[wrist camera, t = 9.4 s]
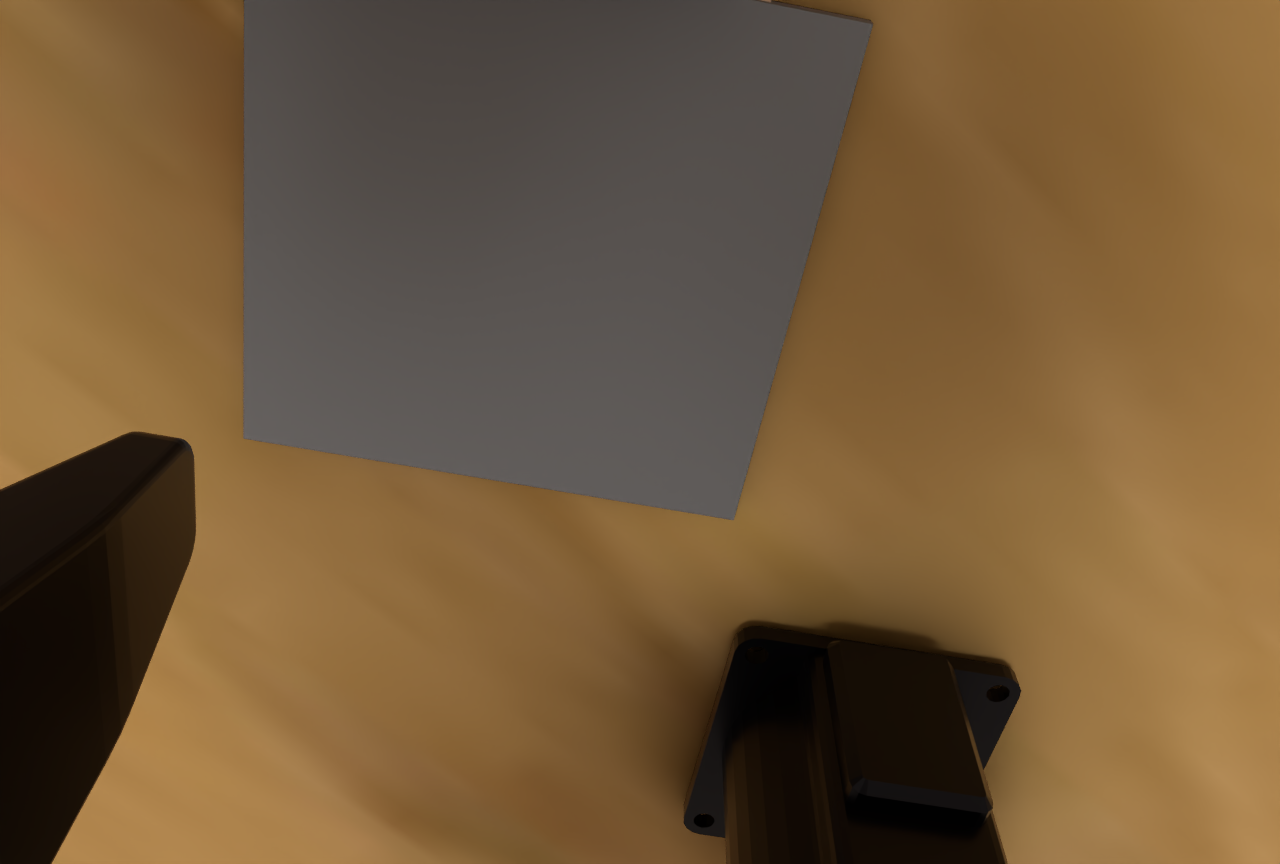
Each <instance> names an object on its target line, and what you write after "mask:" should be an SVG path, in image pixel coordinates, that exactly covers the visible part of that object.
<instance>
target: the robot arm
mask: <svg viewBox="0 0 1280 864" xmlns="http://www.w3.org/2000/svg"><path fill="white" fill-rule="evenodd" d="M195 535H196V510H195V473H194V455H193V452H192V449H191V446H190V445H189V444H188V443H187V442H186V441H185V440H184V439H180V438H174V437H168V436H163V435H157V434H151V433H145V432H130V433H127V434H124V435H122V436H120V437H117V438H115V439H113V440H111V441H108V442H106V443H104V444H102V445H99V446H97V447H95V448H93V449H90V450H88V451H86V452H84V453H81V454H79V455H77V456H75V457H72V458H70V459H68V460H66V461H63V462H61V463H59V464H57V465H54V466H52V467H50V468H48V469H45V470H43V471H41V472H39V473H36V474H34V475H32V476H30V477H27V478H25V479H23V480H21V481H18V482H16V483H14V484H12V485H9V486H7V487H5V488H3V489H0V864H52V862H53V860H54V858H55V856H56V854H57V853H58V851H59V849H60V847H61V845H62V843H63V842H64V840H65V838H66V836H67V834H68V832H69V830H70V829H71V827H72V825H73V823H74V821H75V819H76V818H77V816H78V814H79V812H80V810H81V808H82V806H83V805H84V803H85V801H86V799H87V797H88V795H89V794H90V792H91V790H92V788H93V786H94V784H95V783H96V781H97V779H98V777H99V775H100V773H101V771H102V770H103V768H104V766H105V764H106V762H107V760H108V758H109V756H110V754H111V752H112V750H113V748H114V746H115V744H116V742H117V740H118V738H119V736H120V735H121V732H122V730H123V728H124V725H125V723H126V721H127V718H128V716H129V714H130V711H131V709H132V706H133V704H134V701H135V699H136V696H137V694H138V691H139V689H140V686H141V684H142V681H143V679H144V676H145V674H146V671H147V669H148V666H149V663H150V661H151V658H152V656H153V653H154V651H155V648H156V646H157V643H158V641H159V638H160V636H161V633H162V630H163V628H164V625H165V623H166V620H167V618H168V615H169V613H170V610H171V608H172V605H173V603H174V600H175V598H176V595H177V592H178V590H179V587H180V585H181V582H182V580H183V577H184V575H185V572H186V570H187V567H188V565H189V562H190V559H191V556H192V552H193V548H194V543H195ZM752 647H762V648H764V649H763V650H761V651H756V652H753V651H750V650H748V649H750V648H752ZM996 685H1002V686H1001V687H999V688H997V689H990V688H991V687H993V686H996ZM1020 693H1021V689H1020V687H1019V684H1018V681H1017V678H1016V675H1015V673H1014V671H1013V670H1012V669H1010V668H1009V667H1007V666H1004V665H1000V664H994V663H987V662H981V661H975V660H969V659H963V658H956V657H950V656H944V655H938V654H931V653H925V652H919V651H913V650H906V649H900V648H894V647H888V646H881V645H875V644H869V643H863V642H856V641H850V640H844V639H838V638H831V637H825V636H819V635H813V634H806V633H800V632H794V631H788V630H782V629H775V628H769V627H763V626H751V627H748V628H744V629H743V630H741V631H740V632H739V633H737V635H736V636H735V638H734V640H733V643H732V647H731V650H730V653H729V657H728V660H727V663H726V667H725V670H724V673H723V677H722V680H721V683H720V686H719V690H718V693H717V696H716V700H715V703H714V706H713V710H712V713H711V716H710V720H709V723H708V726H707V730H706V733H705V736H704V739H703V743H702V746H701V749H700V753H699V756H698V759H697V763H696V766H695V769H694V773H693V776H692V779H691V782H690V786H689V789H688V792H687V796H686V799H685V802H684V824H685V826H686V828H687V829H689V830H690V831H692V832H694V833H698V834H703V835H710V836H716V837H723V838H725V841H726V864H1008V863H1007V859H1006V856H1005V853H1004V849H1003V846H1002V842H1001V839H1000V835H999V832H998V829H997V825H996V822H995V818H994V815H993V811H992V809H993V801H992V798H991V795H990V791H989V788H988V784H987V781H986V778H985V774H984V771H983V770H984V768H985V766H986V764H987V762H988V760H989V758H990V756H991V754H992V752H993V750H994V748H995V746H996V744H997V742H998V740H999V737H1000V735H1001V733H1002V731H1003V729H1004V727H1005V725H1006V723H1007V721H1008V719H1009V717H1010V715H1011V713H1012V711H1013V709H1014V707H1015V705H1016V703H1017V701H1018V699H1019V697H1020Z"/></svg>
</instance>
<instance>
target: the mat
mask: <svg viewBox="0 0 1280 864" xmlns="http://www.w3.org/2000/svg"><path fill="white" fill-rule="evenodd" d="M872 27H873V23H872V22H871V20H867V19H862V18H857V17H852V16H847V15H842V14H837V13H832V12H827V11H822V10H817V9H812V8H807V7H802V6H797V5H792V4H787V3H782V2H777V1H772V0H771V2H767V1H762V0H244V439H250V440H256V441H262V442H268V443H274V444H280V445H286V446H292V447H298V448H304V449H310V450H316V451H322V452H328V453H334V454H340V455H346V456H352V457H358V458H364V459H370V460H376V461H382V462H388V463H394V464H400V465H406V466H412V467H418V468H424V469H430V470H436V471H442V472H448V473H454V474H460V475H466V476H472V477H478V478H484V479H490V480H496V481H502V482H508V483H514V484H520V485H526V486H532V487H538V488H544V489H550V490H556V491H562V492H568V493H574V494H580V495H586V496H592V497H598V498H604V499H610V500H616V501H622V502H628V503H634V504H640V505H646V506H652V507H658V508H664V509H670V510H676V511H682V512H688V513H694V514H700V515H706V516H711V517H717V518H723V519H729V520H734V517H735V513H736V510H737V506H738V503H739V499H740V496H741V492H742V489H743V485H744V481H745V478H746V474H747V471H748V467H749V464H750V460H751V457H752V453H753V449H754V446H755V442H756V439H757V435H758V432H759V428H760V425H761V421H762V417H763V414H764V410H765V407H766V403H767V400H768V396H769V393H770V389H771V385H772V382H773V378H774V375H775V371H776V368H777V364H778V361H779V357H780V353H781V350H782V346H783V343H784V339H785V336H786V332H787V329H788V325H789V322H790V318H791V314H792V311H793V307H794V304H795V300H796V297H797V293H798V290H799V286H800V282H801V279H802V275H803V272H804V268H805V265H806V261H807V258H808V254H809V250H810V247H811V243H812V240H813V236H814V233H815V229H816V226H817V222H818V218H819V215H820V211H821V208H822V204H823V201H824V197H825V194H826V190H827V186H828V183H829V179H830V176H831V172H832V169H833V165H834V162H835V158H836V154H837V151H838V147H839V144H840V140H841V137H842V133H843V130H844V126H845V122H846V119H847V115H848V112H849V108H850V105H851V101H852V98H853V94H854V91H855V87H856V83H857V80H858V76H859V73H860V69H861V66H862V62H863V59H864V55H865V51H866V48H867V44H868V41H869V37H870V34H871V30H872Z"/></svg>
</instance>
